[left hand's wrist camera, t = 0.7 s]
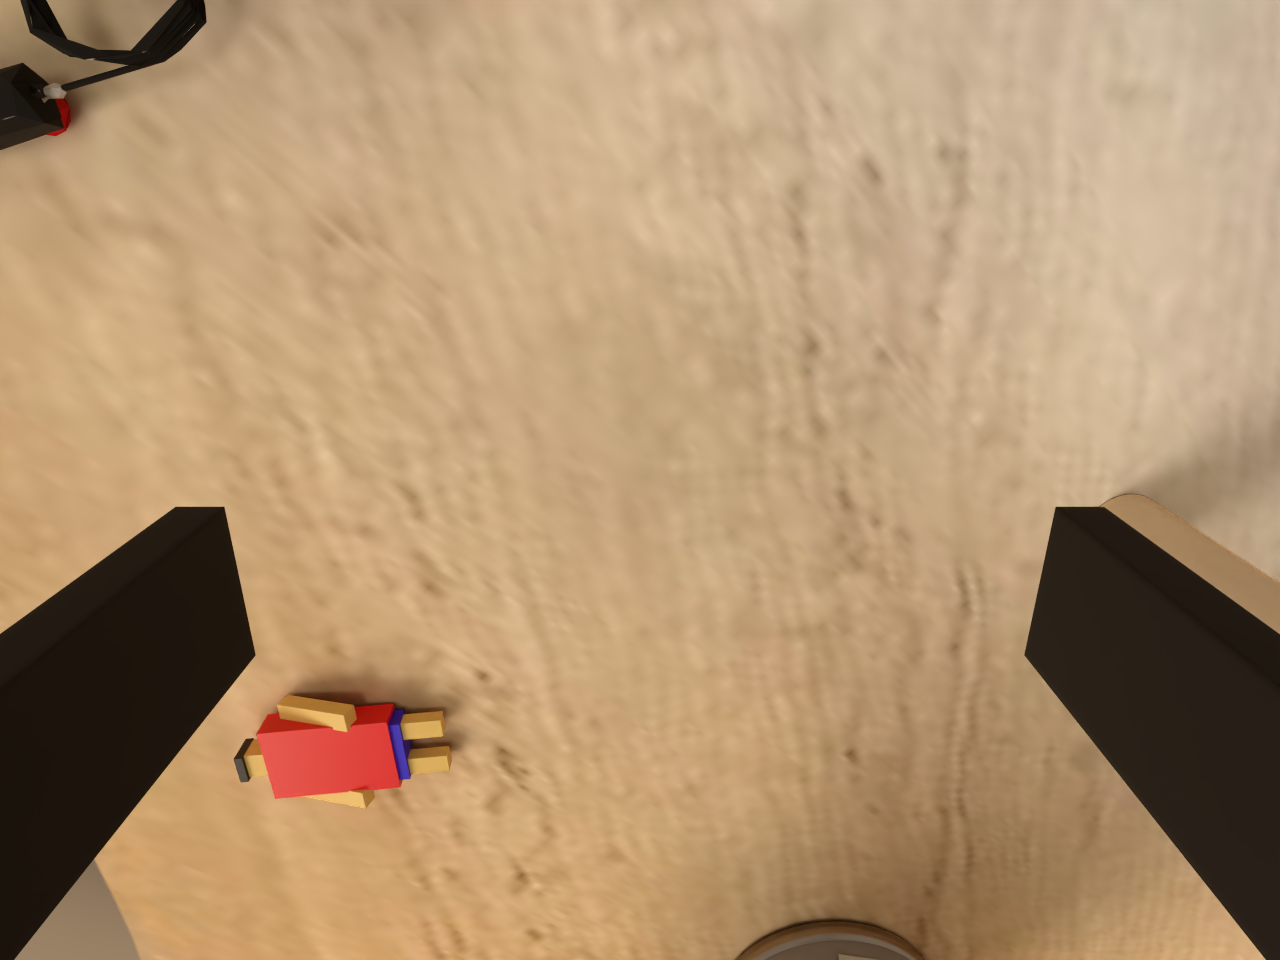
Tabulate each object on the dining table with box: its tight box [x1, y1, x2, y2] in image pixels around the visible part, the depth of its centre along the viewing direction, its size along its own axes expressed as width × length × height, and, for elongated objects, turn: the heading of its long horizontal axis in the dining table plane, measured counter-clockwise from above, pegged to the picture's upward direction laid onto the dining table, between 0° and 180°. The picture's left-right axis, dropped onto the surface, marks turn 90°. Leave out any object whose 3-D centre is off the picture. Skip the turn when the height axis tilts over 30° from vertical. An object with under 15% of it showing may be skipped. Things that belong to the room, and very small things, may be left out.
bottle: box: [1100, 494, 1280, 634], centre depth 34 cm, size 4×4×19 cm
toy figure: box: [234, 695, 452, 809], centre depth 47 cm, size 2×7×12 cm
